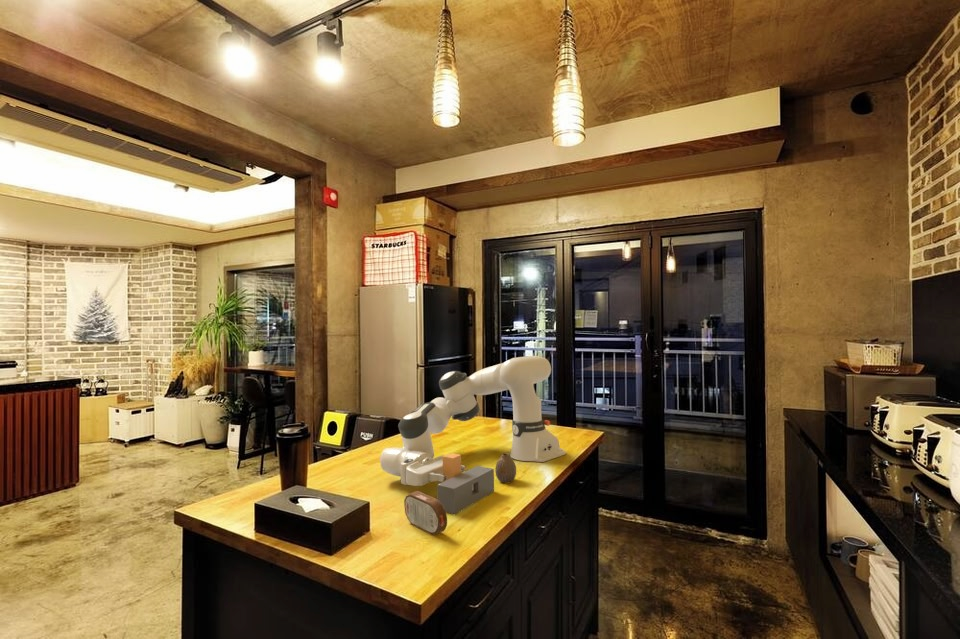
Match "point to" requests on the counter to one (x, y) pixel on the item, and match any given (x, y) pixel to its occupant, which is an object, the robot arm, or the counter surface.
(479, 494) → the block
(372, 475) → the counter surface
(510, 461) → the vase
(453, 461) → the plug
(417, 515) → the tin
